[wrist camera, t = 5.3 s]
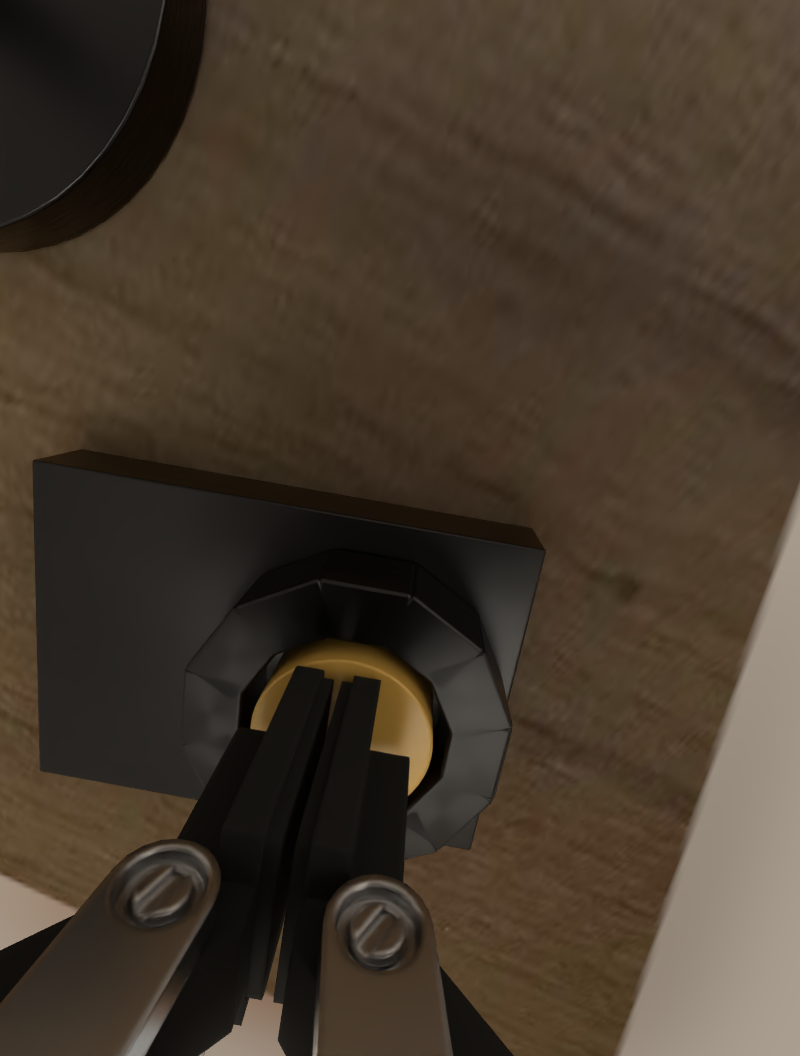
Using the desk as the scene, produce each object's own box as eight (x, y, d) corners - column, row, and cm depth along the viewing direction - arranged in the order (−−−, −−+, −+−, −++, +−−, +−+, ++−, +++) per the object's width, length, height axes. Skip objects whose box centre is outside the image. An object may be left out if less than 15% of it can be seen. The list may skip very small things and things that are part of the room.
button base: (532, 528, 13) (566, 582, 10) (466, 800, 15) (475, 920, 12) (80, 448, 13) (-40, 475, 10) (80, 729, 15) (-18, 828, 12)
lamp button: (447, 635, 12) (449, 678, 10) (418, 772, 13) (415, 832, 11) (283, 606, 12) (258, 645, 10) (267, 745, 13) (241, 801, 11)
